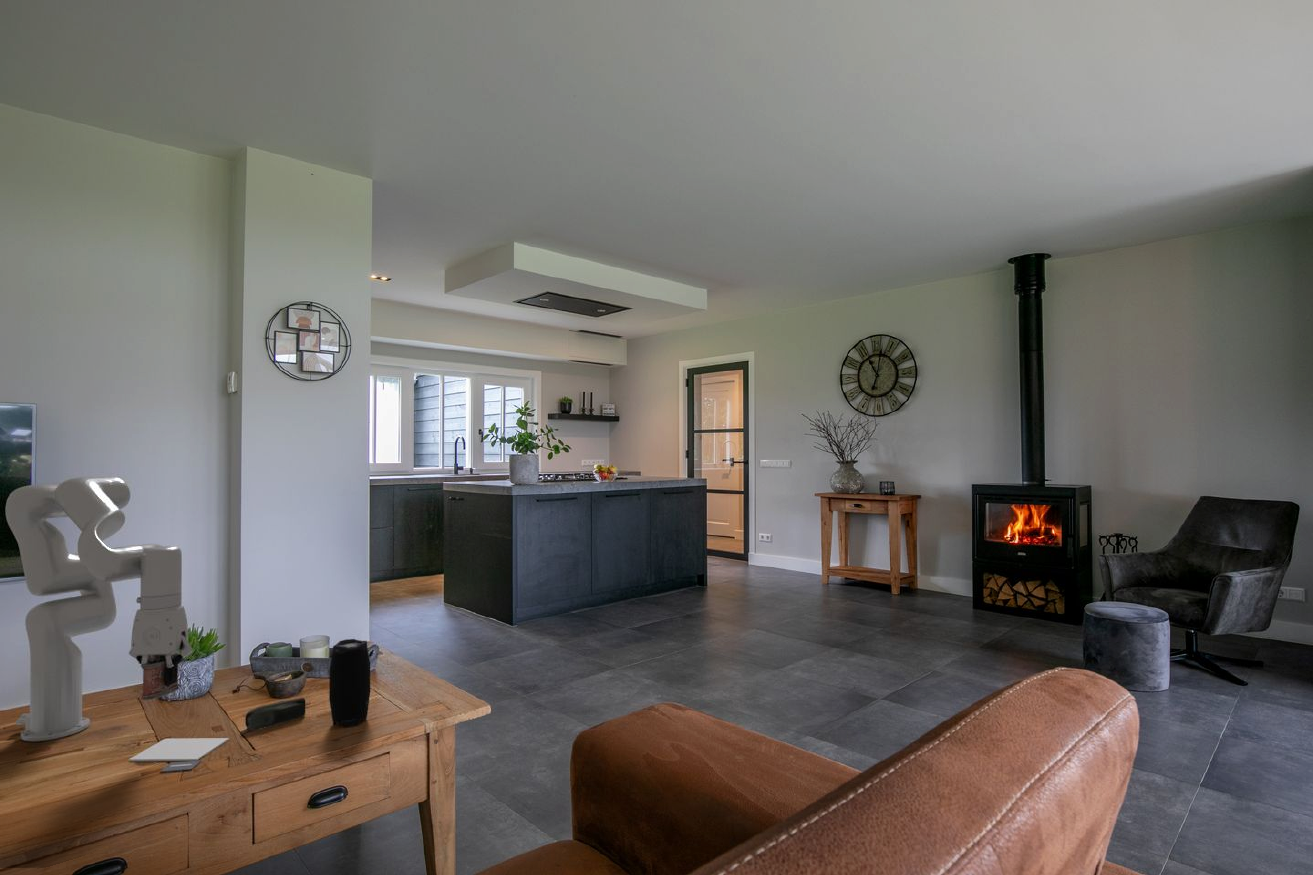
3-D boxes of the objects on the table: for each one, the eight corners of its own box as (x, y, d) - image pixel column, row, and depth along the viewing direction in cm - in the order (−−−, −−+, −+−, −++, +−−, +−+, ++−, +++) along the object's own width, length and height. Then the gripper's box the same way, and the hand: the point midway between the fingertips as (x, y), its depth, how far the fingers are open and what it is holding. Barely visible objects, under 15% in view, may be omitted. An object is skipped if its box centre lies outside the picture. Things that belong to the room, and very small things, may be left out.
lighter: (150, 700, 150) (150, 654, 150) (137, 699, 151) (137, 653, 151) (182, 688, 158) (183, 644, 158) (170, 687, 159) (170, 643, 159)
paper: (128, 761, 150) (128, 759, 150) (165, 740, 161) (165, 738, 161) (197, 760, 150) (197, 758, 150) (229, 739, 161) (229, 738, 161)
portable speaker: (377, 717, 173) (377, 639, 174) (345, 731, 165) (346, 649, 165) (353, 712, 177) (353, 636, 177) (321, 725, 169) (321, 645, 169)
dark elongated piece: (302, 695, 177) (238, 711, 165) (307, 697, 175) (243, 713, 163) (301, 715, 177) (237, 732, 165) (307, 717, 175) (242, 735, 163)
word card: (160, 772, 144) (160, 770, 144) (170, 764, 148) (170, 762, 148) (191, 770, 145) (191, 768, 145) (200, 761, 149) (201, 759, 149)
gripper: (111, 606, 151) (110, 690, 151) (186, 605, 151) (186, 689, 151) (137, 599, 159) (136, 679, 158) (209, 598, 159) (208, 678, 158)
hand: (160, 683), depth 154 cm, fingers closed on lighter, 3 cm apart
